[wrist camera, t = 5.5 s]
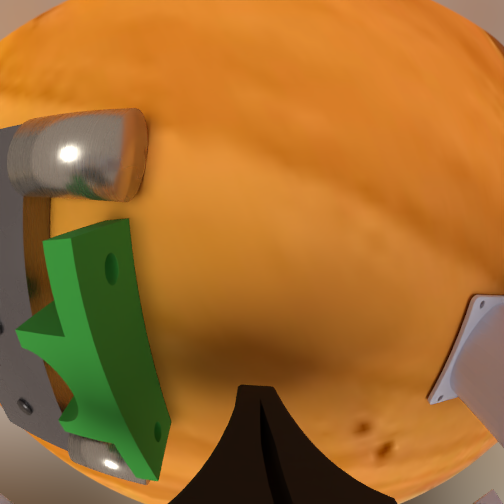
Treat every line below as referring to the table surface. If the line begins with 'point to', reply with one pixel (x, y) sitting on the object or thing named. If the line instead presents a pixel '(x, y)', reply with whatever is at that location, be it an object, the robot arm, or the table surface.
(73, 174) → the fixed leaf
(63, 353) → the green notched block
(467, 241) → the table surface
